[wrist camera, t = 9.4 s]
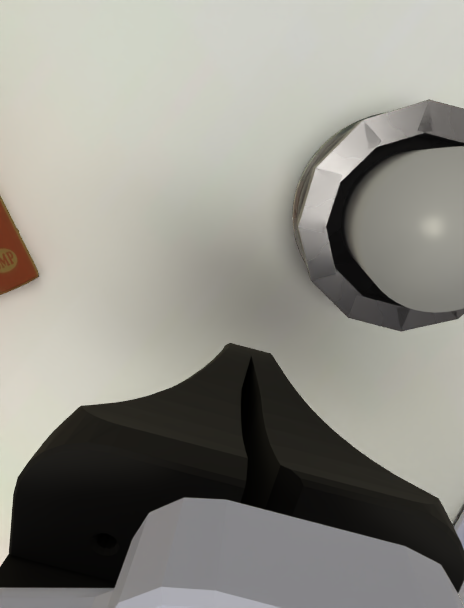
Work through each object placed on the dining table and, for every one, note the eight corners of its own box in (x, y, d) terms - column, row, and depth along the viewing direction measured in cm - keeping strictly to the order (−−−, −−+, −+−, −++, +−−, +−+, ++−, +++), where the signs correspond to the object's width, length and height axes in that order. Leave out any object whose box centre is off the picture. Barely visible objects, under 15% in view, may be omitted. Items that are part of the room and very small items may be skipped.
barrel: (429, 311, 21) (474, 354, 17) (271, 270, 21) (272, 301, 17) (504, 141, 19) (584, 134, 14) (322, 94, 19) (340, 71, 14)
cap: (440, 292, 17) (489, 329, 13) (324, 261, 17) (339, 290, 13) (496, 169, 15) (569, 171, 12) (366, 135, 15) (398, 126, 12)
